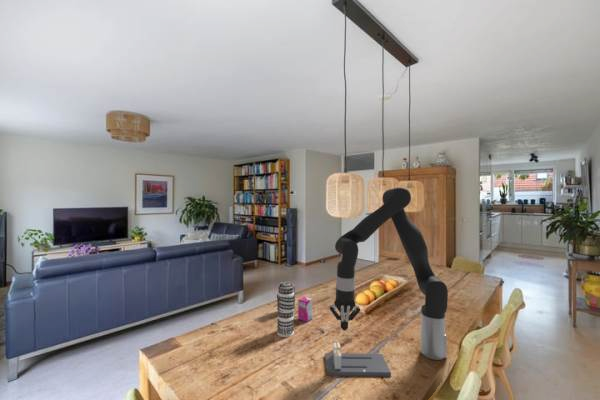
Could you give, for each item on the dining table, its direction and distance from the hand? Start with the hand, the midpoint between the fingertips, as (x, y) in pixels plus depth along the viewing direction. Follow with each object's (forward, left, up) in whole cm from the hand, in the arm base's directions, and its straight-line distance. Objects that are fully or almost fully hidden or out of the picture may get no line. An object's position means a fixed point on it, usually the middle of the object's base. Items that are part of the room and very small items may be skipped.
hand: (344, 329), depth 109 cm
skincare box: (+26, -49, -14) cm, 58 cm away
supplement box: (+15, -39, -14) cm, 44 cm away
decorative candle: (+25, -24, -14) cm, 38 cm away
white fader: (+3, -1, -12) cm, 12 cm away
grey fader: (+3, +5, -12) cm, 13 cm away
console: (-5, +2, -14) cm, 15 cm away
